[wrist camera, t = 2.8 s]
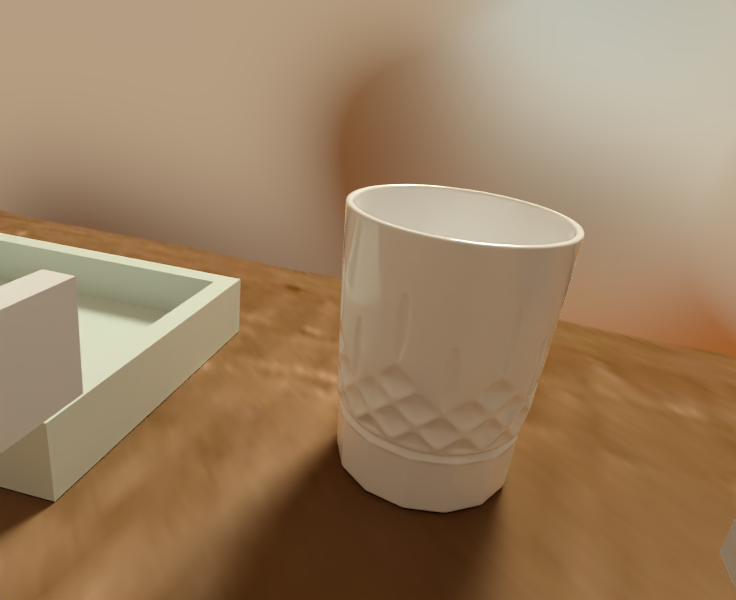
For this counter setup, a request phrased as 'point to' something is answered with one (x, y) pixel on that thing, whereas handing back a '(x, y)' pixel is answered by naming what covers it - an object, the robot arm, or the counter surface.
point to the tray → (115, 353)
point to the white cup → (444, 336)
